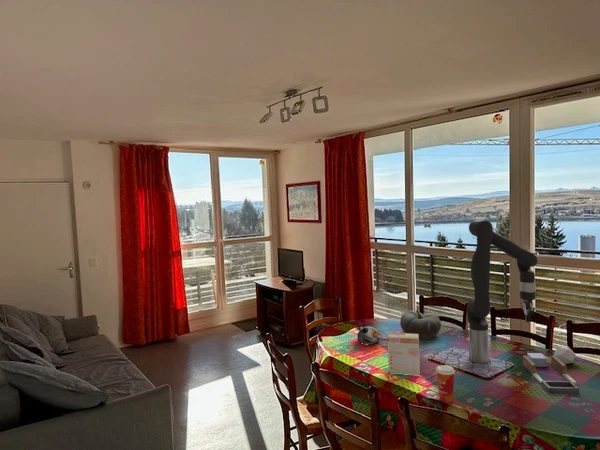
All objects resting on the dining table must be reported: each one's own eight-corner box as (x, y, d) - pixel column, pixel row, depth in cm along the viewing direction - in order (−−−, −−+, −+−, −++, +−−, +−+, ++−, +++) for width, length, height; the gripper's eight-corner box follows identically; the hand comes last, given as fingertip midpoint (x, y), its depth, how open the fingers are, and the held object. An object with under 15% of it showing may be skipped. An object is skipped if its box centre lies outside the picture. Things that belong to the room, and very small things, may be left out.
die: (575, 368, 200) (581, 350, 203) (558, 359, 202) (564, 341, 204) (564, 368, 208) (570, 350, 211) (548, 359, 210) (554, 342, 212)
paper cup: (433, 396, 178) (433, 365, 178) (450, 394, 179) (449, 363, 178) (441, 404, 170) (440, 372, 170) (458, 403, 171) (458, 371, 170)
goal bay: (540, 383, 185) (540, 381, 185) (532, 375, 194) (532, 373, 194) (576, 384, 183) (576, 382, 183) (566, 375, 192) (566, 373, 192)
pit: (549, 393, 176) (549, 387, 176) (542, 385, 183) (542, 380, 183) (579, 393, 174) (579, 388, 174) (570, 386, 181) (570, 381, 181)
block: (532, 366, 204) (532, 358, 204) (527, 361, 211) (527, 352, 211) (547, 367, 203) (547, 358, 202) (541, 361, 210) (541, 353, 209)
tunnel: (532, 375, 194) (532, 364, 194) (522, 365, 206) (522, 355, 206) (566, 375, 192) (566, 365, 192) (554, 365, 204) (554, 355, 203)
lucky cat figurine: (382, 339, 252) (386, 324, 245) (376, 353, 243) (380, 337, 236) (360, 331, 258) (362, 315, 251) (353, 344, 249) (356, 328, 241)
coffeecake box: (420, 371, 205) (418, 333, 204) (419, 377, 198) (418, 338, 197) (390, 368, 210) (388, 331, 208) (388, 374, 203) (387, 336, 202)
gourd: (397, 325, 272) (400, 301, 269) (434, 331, 269) (439, 306, 266) (400, 341, 248) (404, 315, 245) (441, 348, 245) (446, 321, 242)
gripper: (515, 287, 222) (516, 318, 223) (524, 292, 209) (525, 325, 210) (529, 287, 221) (530, 318, 222) (540, 292, 208) (541, 325, 209)
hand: (528, 321), depth 216 cm, fingers closed
